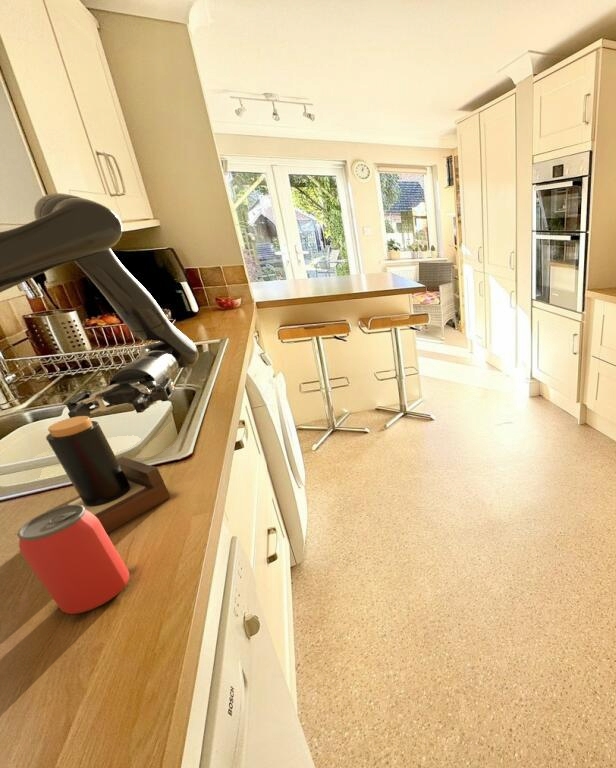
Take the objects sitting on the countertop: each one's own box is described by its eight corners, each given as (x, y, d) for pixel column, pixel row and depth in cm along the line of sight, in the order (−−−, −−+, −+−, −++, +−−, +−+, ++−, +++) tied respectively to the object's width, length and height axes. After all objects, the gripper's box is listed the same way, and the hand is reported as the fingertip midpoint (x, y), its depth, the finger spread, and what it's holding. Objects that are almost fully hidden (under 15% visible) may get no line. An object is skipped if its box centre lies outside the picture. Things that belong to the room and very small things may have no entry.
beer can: (135, 590, 53) (93, 517, 48) (64, 627, 48) (9, 551, 43) (127, 563, 57) (87, 494, 52) (60, 596, 52) (9, 523, 48)
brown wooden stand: (55, 526, 64) (36, 495, 62) (136, 484, 74) (122, 456, 71) (90, 543, 61) (71, 511, 58) (171, 497, 70) (157, 467, 68)
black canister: (76, 501, 65) (33, 428, 59) (118, 480, 69) (82, 411, 64) (96, 510, 63) (53, 435, 57) (138, 488, 67) (102, 417, 62)
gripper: (90, 368, 80) (40, 401, 66) (178, 356, 85) (148, 385, 71) (107, 402, 83) (63, 441, 69) (191, 389, 88) (165, 423, 74)
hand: (106, 413), depth 70 cm, fingers open, 8 cm apart
